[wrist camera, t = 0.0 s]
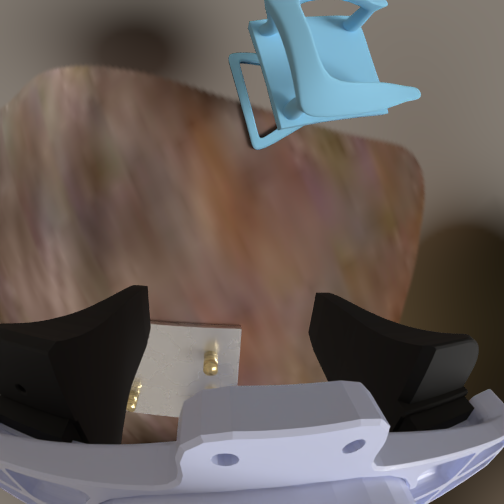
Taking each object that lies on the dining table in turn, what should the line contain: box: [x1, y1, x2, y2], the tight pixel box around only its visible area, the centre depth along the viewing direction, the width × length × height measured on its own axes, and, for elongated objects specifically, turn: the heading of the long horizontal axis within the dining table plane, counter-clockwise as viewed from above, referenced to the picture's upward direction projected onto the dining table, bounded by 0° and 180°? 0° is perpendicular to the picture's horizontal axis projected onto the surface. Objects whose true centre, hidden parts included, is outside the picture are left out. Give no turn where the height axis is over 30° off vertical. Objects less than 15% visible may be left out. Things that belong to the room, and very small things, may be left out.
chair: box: [229, 0, 421, 150], centre depth 13 cm, size 8×8×12 cm
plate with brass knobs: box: [126, 321, 241, 417], centre depth 24 cm, size 12×13×3 cm
